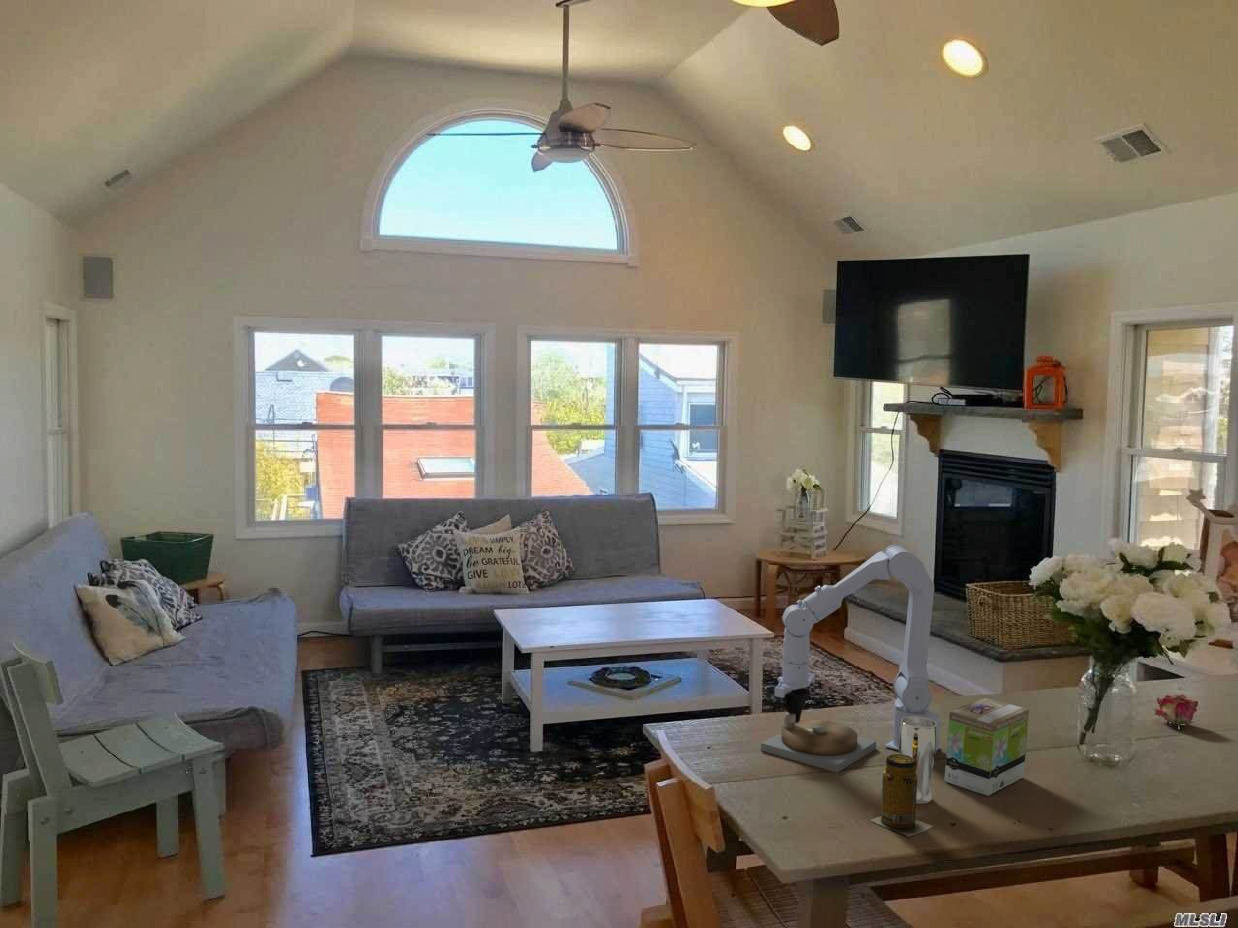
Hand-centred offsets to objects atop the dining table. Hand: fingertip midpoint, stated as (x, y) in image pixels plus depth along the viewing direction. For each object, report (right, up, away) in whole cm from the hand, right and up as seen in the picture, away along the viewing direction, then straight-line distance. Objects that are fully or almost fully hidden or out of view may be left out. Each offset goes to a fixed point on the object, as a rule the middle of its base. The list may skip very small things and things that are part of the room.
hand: (794, 721), depth 226 cm
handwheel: (+5, -3, -4) cm, 7 cm away
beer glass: (+19, -8, -28) cm, 34 cm away
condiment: (+13, -9, -40) cm, 42 cm away
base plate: (+5, -5, -4) cm, 8 cm away
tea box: (+35, -8, -18) cm, 40 cm away
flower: (+93, -6, +18) cm, 95 cm away
